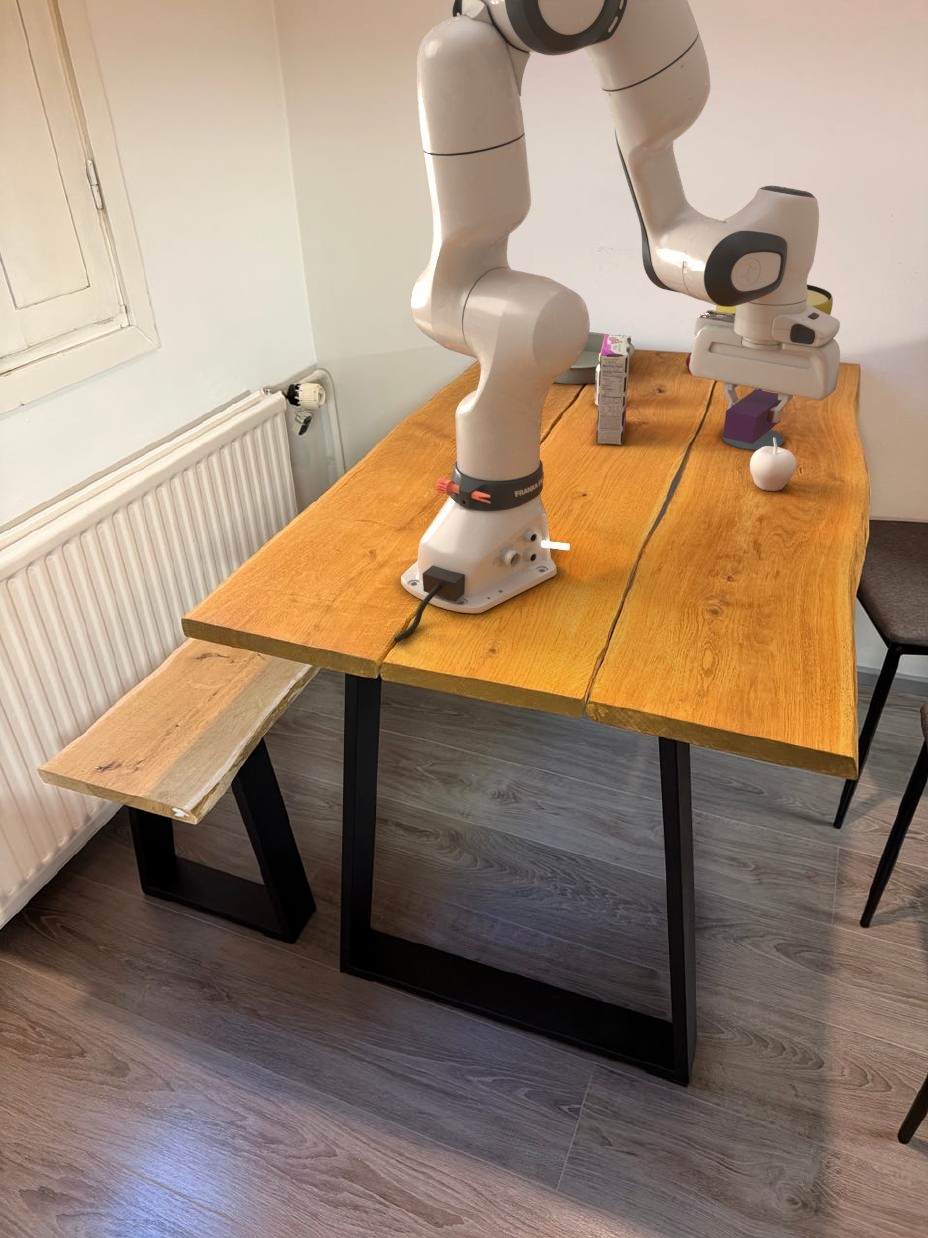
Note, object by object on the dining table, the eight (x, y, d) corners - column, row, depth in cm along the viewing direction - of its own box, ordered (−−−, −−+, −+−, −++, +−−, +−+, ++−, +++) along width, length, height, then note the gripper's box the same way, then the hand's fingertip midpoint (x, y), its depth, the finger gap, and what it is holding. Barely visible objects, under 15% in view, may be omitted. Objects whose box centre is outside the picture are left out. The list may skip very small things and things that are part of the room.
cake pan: (511, 354, 203) (511, 334, 200) (617, 347, 204) (618, 327, 202) (530, 390, 182) (530, 369, 180) (647, 382, 184) (648, 361, 181)
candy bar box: (599, 421, 167) (604, 333, 158) (625, 423, 166) (632, 334, 157) (594, 444, 158) (599, 353, 149) (622, 446, 157) (629, 354, 148)
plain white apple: (774, 474, 146) (782, 427, 141) (801, 491, 140) (810, 444, 136) (737, 481, 144) (744, 434, 140) (762, 499, 138) (771, 451, 134)
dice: (703, 367, 191) (705, 349, 189) (702, 374, 187) (705, 355, 185) (685, 367, 192) (687, 348, 189) (684, 373, 188) (686, 355, 186)
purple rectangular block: (752, 444, 124) (756, 416, 121) (722, 437, 126) (726, 410, 124) (780, 421, 130) (784, 394, 128) (751, 415, 132) (755, 389, 130)
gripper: (687, 313, 123) (677, 409, 130) (836, 336, 112) (816, 439, 120) (707, 302, 127) (696, 396, 134) (852, 323, 116) (832, 423, 124)
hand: (754, 416), depth 127 cm, fingers closed on purple rectangular block, 4 cm apart
